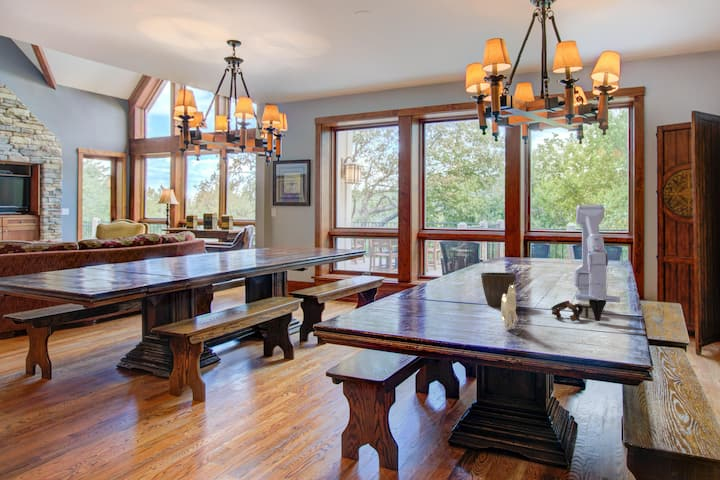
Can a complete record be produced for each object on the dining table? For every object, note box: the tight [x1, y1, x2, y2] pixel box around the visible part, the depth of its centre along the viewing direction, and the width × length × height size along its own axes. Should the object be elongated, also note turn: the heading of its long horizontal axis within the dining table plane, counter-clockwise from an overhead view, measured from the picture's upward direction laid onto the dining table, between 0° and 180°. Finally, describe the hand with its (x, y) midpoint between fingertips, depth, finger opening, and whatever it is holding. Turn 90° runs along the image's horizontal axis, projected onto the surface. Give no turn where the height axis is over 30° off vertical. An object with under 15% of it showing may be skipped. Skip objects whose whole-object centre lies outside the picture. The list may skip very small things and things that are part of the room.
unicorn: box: [500, 282, 519, 329], centre depth 172 cm, size 20×4×17 cm, turn 174°
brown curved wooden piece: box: [550, 300, 583, 322], centre depth 187 cm, size 12×9×8 cm
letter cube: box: [577, 302, 595, 319], centre depth 192 cm, size 6×6×6 cm
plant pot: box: [480, 272, 517, 309], centre depth 213 cm, size 15×15×16 cm
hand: (597, 320), depth 180 cm, fingers closed
